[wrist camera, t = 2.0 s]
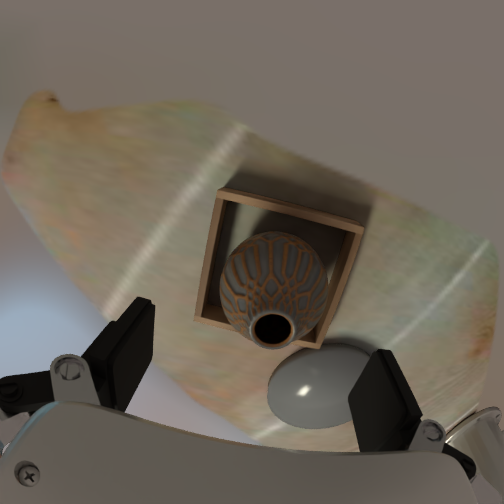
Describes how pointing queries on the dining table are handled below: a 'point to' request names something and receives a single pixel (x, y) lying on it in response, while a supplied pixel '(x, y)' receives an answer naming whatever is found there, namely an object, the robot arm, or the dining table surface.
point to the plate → (316, 386)
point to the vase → (273, 289)
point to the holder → (354, 229)
